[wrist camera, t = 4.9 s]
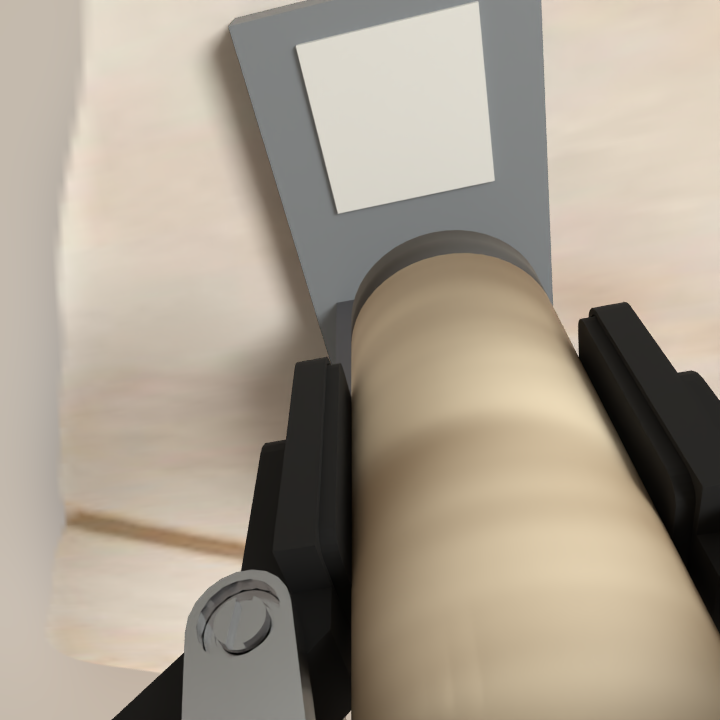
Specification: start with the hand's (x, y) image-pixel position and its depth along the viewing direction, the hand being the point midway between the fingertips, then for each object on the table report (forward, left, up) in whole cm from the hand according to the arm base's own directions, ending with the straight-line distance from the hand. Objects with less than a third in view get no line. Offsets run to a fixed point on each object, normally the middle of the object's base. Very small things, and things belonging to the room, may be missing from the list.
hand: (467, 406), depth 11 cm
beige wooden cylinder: (0, 0, -3) cm, 3 cm away
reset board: (-6, 0, -16) cm, 17 cm away
